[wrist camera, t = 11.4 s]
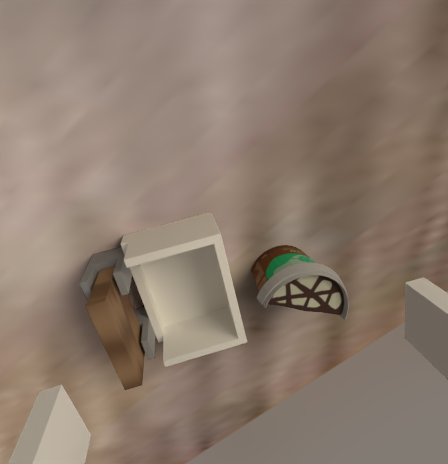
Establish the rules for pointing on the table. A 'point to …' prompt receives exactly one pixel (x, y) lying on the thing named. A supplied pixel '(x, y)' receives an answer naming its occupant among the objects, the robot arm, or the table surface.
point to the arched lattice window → (298, 282)
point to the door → (117, 328)
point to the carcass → (177, 287)
